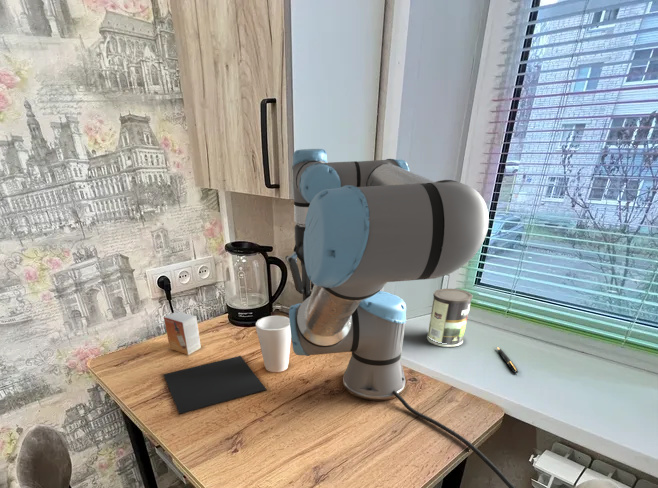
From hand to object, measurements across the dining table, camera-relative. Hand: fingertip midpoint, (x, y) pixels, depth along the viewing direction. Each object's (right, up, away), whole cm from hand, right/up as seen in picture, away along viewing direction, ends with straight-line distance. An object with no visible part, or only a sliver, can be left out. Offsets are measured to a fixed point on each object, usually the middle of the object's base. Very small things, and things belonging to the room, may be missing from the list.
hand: (310, 316), depth 111 cm
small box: (-37, -8, +14) cm, 40 cm away
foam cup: (-9, -13, +3) cm, 17 cm away
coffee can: (+41, -5, +13) cm, 43 cm away
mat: (-26, -18, -3) cm, 31 cm away
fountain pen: (+53, -12, +1) cm, 54 cm away
